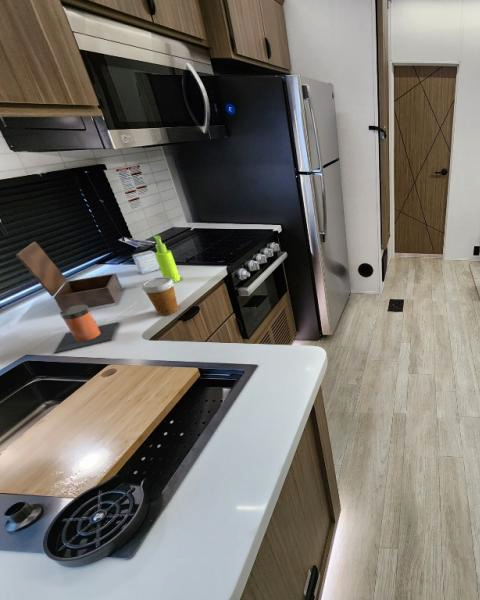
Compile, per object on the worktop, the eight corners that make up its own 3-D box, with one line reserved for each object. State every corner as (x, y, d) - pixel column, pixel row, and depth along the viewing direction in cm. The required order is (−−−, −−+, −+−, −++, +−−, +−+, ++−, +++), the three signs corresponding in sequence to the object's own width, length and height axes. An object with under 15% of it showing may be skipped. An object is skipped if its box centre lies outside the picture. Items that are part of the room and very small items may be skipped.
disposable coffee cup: (174, 302, 129) (163, 274, 123) (188, 308, 124) (177, 279, 119) (148, 313, 122) (135, 284, 116) (161, 320, 117) (149, 290, 112)
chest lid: (35, 241, 121) (32, 242, 121) (18, 254, 109) (15, 255, 109) (67, 279, 130) (64, 280, 130) (54, 295, 118) (51, 296, 117)
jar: (72, 344, 104) (56, 317, 99) (78, 333, 109) (63, 307, 105) (98, 338, 107) (84, 311, 102) (103, 328, 112) (89, 302, 107)
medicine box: (157, 266, 161) (150, 250, 157) (161, 268, 159) (154, 251, 155) (138, 272, 156) (131, 254, 152) (142, 274, 153) (135, 256, 149)
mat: (54, 353, 101) (54, 352, 101) (66, 334, 110) (66, 333, 110) (111, 340, 107) (111, 339, 106) (118, 322, 116) (117, 322, 116)
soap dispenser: (177, 275, 152) (162, 233, 142) (182, 280, 147) (166, 236, 138) (163, 279, 148) (146, 236, 139) (167, 284, 144) (150, 239, 134)
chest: (122, 289, 140) (115, 273, 136) (116, 304, 128) (108, 287, 124) (75, 297, 133) (66, 281, 130) (63, 314, 121) (53, 297, 118)
